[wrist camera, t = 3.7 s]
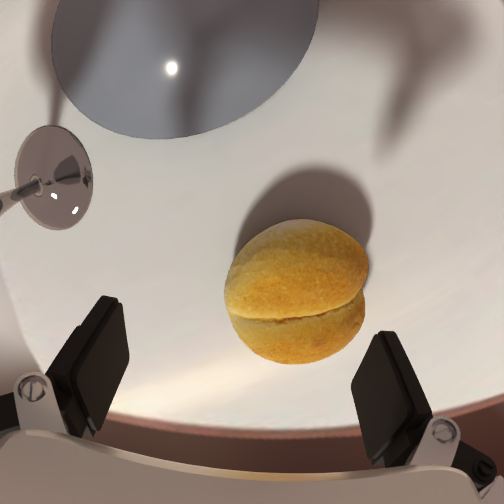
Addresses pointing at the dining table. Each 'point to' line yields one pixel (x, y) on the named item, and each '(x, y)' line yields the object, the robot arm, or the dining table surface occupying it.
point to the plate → (177, 60)
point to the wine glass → (51, 179)
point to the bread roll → (297, 291)
